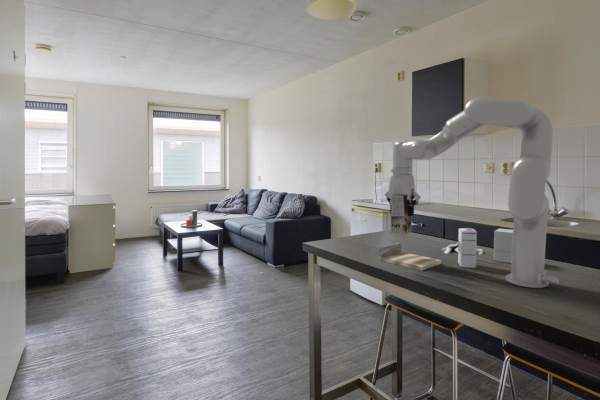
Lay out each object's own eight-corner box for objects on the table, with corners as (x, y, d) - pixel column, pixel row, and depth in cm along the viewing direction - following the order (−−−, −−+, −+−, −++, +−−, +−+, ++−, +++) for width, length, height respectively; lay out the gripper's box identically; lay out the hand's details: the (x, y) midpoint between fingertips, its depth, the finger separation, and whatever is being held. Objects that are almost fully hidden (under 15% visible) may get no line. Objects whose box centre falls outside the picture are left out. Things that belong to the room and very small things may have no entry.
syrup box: (476, 267, 143) (477, 230, 142) (460, 267, 144) (461, 230, 143) (472, 263, 149) (474, 228, 147) (457, 263, 150) (458, 227, 148)
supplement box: (517, 260, 154) (519, 230, 152) (512, 263, 148) (514, 232, 147) (497, 257, 159) (499, 227, 157) (492, 260, 153) (494, 230, 152)
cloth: (455, 245, 183) (456, 233, 183) (492, 253, 168) (493, 239, 167) (426, 251, 171) (426, 238, 170) (463, 260, 156) (463, 246, 155)
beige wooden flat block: (441, 263, 149) (441, 250, 149) (421, 270, 140) (422, 256, 140) (397, 254, 165) (397, 242, 164) (377, 260, 156) (378, 247, 155)
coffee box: (405, 235, 149) (406, 195, 147) (390, 233, 152) (390, 194, 151) (412, 231, 156) (413, 193, 155) (397, 230, 160) (398, 192, 158)
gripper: (379, 171, 156) (379, 213, 158) (416, 172, 143) (415, 218, 145) (390, 171, 161) (389, 211, 163) (426, 172, 147) (425, 216, 149)
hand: (401, 214), depth 154 cm, fingers closed on coffee box, 7 cm apart
